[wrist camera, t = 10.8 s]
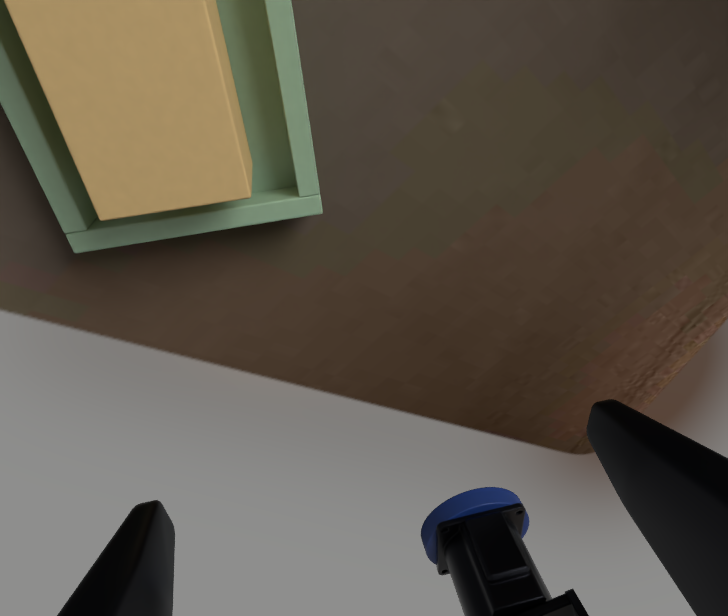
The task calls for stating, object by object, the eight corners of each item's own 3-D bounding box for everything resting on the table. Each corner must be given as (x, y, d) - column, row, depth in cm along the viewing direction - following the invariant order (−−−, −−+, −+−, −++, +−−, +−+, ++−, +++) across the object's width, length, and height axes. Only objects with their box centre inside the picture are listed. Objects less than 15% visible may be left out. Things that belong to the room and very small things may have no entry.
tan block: (252, 164, 18) (251, 198, 14) (129, 182, 17) (99, 222, 14) (190, -112, 13) (169, -154, 10) (23, -99, 13) (-59, -139, 10)
